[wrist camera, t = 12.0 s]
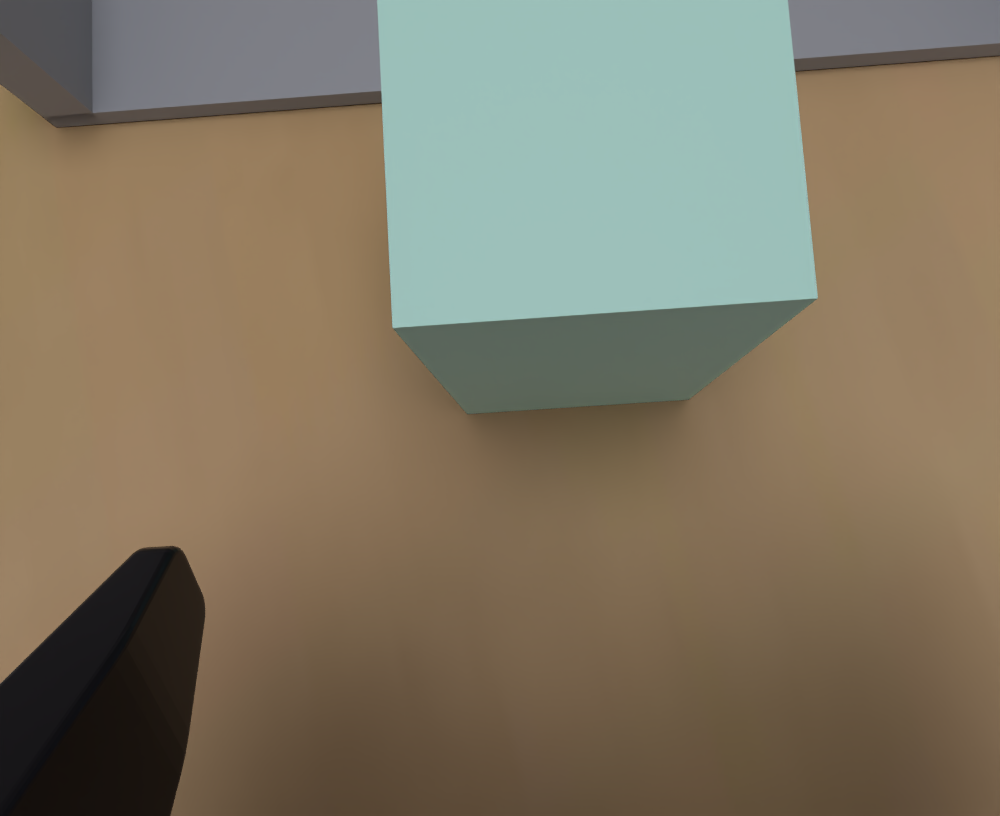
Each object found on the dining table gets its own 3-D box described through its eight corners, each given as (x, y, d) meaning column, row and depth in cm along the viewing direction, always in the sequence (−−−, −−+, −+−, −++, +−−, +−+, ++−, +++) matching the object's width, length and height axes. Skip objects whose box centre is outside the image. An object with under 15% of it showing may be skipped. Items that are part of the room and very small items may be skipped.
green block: (688, 399, 21) (817, 298, 11) (466, 414, 21) (392, 328, 11) (670, 185, 21) (777, -101, 11) (455, 201, 21) (374, -64, 12)
